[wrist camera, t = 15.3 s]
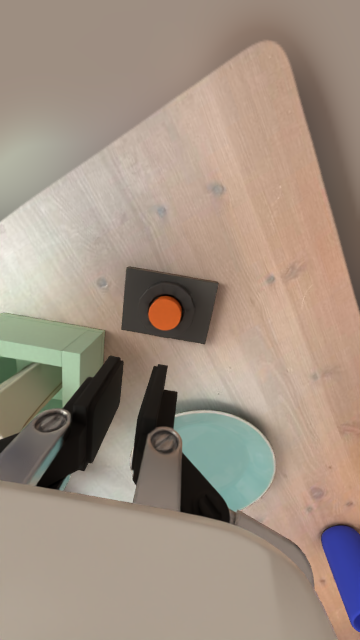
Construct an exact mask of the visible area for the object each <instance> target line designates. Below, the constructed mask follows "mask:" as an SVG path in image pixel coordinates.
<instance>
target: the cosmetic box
mask: <svg viewBox="0 0 360 640" xmlns="http://www.w3.org/2000/svg"><path fill="white" fill-rule="evenodd" d="M61 388H62V367H59V366H54V365H48V364H42V363H36V362H33V363H31V364H29V365H27V366H26V367H24V368H23V369H21V370H20V371H19V372H17V373H16V374H14V375H13V376H11V377H10V378H8V379H7V380H6V381H4V382H3V383H1V384H0V439H3V438H5V437H8V436H11V435H14V434H16V433H19V432H20V431H21V430H22V429H23V428H24V427H25V426H26V425H27V424H28V423H29V422H30V421H31V420H32V419H33V418H34V417H35V416H36V415H37V414H38V412H39V411H40V410H41V409H42V408H43V407H44V406H45V405H46V404H47V403H48V402H49V401H50V400H51V399H52V398H53V397H54V396H55V395H56V394H57V393H58V392H59V390H60V389H61Z"/></svg>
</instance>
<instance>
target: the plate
mask: <svg viewBox="0 0 360 640" xmlns="http://www.w3.org/2000/svg"><path fill="white" fill-rule="evenodd" d="M174 430H175V431H177V432H178V434H179V435H180V437H181V438H182V452H183V453H184V455H185V456H186V457H187V458H188V459H189V460H190V461H191V462H192V464H193V465H194V466H195V467H196V468H197V469H198V470H199V471H200V472H201V474H202V475H203V476H204V477H205V478H206V479H207V480H208V481H209V483H210V484H211V485H212V486H213V487H214V488H215V489H216V490H217V492H218V493H219V494H220V495H221V496H222V497H223V499H224V500H225V502H226V504H227V506H228V508H229V509H231V510H233V511H235V512H237V509H238V510H239V511H240V510H243V509H245V508H247V507H248V506H250V505H252V504H253V503H255V502H256V501H257V500H258V499H260V498H261V497H262V496H263V495H264V494H265V492H266V491H267V490H268V489H269V487H270V485H271V483H272V481H273V479H274V476H275V471H276V459H275V454H274V451H273V448H272V446H271V444H270V443H269V441H268V439H267V438H266V437H265V436H264V434H263V433H262V432H261V431H260V430H259V429H258V428H256V427H255V426H254V425H252V424H251V423H249V422H248V421H246V420H244V419H242V418H240V417H238V416H235V415H233V414H229V413H226V412H221V411H215V410H192V411H186V412H181V413H177V414H175V421H174ZM133 449H134V446H133V448H132V451H131V456H130V469H131V465H132V457H133ZM133 472H134V471H133V470H131V474H132V477H133Z"/></svg>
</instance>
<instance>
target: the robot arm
mask: <svg viewBox="0 0 360 640" xmlns="http://www.w3.org/2000/svg"><path fill="white" fill-rule="evenodd" d="M123 363H124V362H123V361H122V360H121V359H120V357H114V356H109V357H108V359H107V360H106V361H105V363H104V364H103V365H102V367H101V368H100V369H99V371H98V372H97V373H96V375H95V376H94V377H87V378H86V380H85V381H84V382H83V383H82V385H81V386H80V387H79V388H78V390H77V391H76V392H75V393H74V395H73V396H72V397H71V398H70V400H69V401H68V402H67V403H66V405H65V406H64V407H63V408H62V409H61V408H54V409H49V410H46V411H43V412H41V413H40V414H38V415H37V416H36V417H34V418H33V419H32V420H31V422H30V423H29V424H28V425H27V426H26V427H25V428H24V429H23V430H22V431H21V432H19V433H16V434H14V435H11V436H8V437H5V438H3V439H0V640H338V638H337V636H336V633H335V631H334V629H333V626H332V624H331V622H330V620H329V618H328V615H327V613H326V611H325V609H324V607H323V605H322V603H321V601H320V599H319V597H318V595H317V593H316V591H315V589H314V579H313V573H312V569H311V565H310V563H309V562H308V560H307V558H306V556H305V554H304V553H303V552H302V551H301V549H300V548H299V547H298V546H297V545H296V544H294V543H293V542H292V541H291V540H289V539H287V538H285V537H284V536H282V535H280V534H279V533H277V532H275V531H273V530H272V529H270V528H268V527H267V526H265V525H263V524H262V523H260V522H258V521H256V520H255V519H253V518H251V517H250V516H248V515H246V514H244V513H243V512H241V511H239V510H238V509H237V512H235V511H233V510H231V509H229V508H228V506H227V504H226V502H225V500H224V499H223V497H222V496H221V495H220V494H219V493H218V492H217V490H216V489H215V488H214V487H213V486H212V485H211V484H210V483H209V481H208V480H207V479H206V478H205V477H204V476H203V475H202V474H201V472H200V471H199V470H198V469H197V468H196V467H195V466H194V465H193V464H192V462H191V461H190V460H189V459H188V458H187V457H186V456H185V455H184V453H183V452H182V438H181V437H180V435H179V434H178V432H177V431H175V430H174V421H175V411H176V401H177V392H175V391H169V390H164V386H165V380H166V374H167V368H168V366H166V365H160V364H158V366H157V367H156V366H154V367H153V370H152V374H151V377H150V380H149V383H148V386H147V389H146V392H145V395H144V398H143V401H142V405H141V408H140V411H139V415H138V419H137V426H136V434H135V442H134V449H133V457H132V465H131V470H133V471H134V472H133V481H134V483H135V484H136V490H135V495H134V499H133V503H129V502H123V501H117V500H112V499H106V498H101V497H95V496H89V495H83V494H78V493H72V492H66V491H64V489H65V487H66V485H67V484H68V482H69V480H70V477H71V474H72V473H74V472H75V471H77V470H81V471H85V469H86V467H87V465H88V463H92V462H93V461H94V459H95V457H96V454H97V452H98V450H99V448H100V446H101V444H102V441H103V439H104V437H105V435H106V433H107V431H108V428H109V426H110V424H111V422H112V420H113V418H114V415H115V413H116V411H117V409H118V407H119V403H120V396H121V385H122V374H123Z"/></svg>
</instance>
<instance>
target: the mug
mask: <svg viewBox="0 0 360 640" xmlns="http://www.w3.org/2000/svg"><path fill="white" fill-rule="evenodd" d="M321 541H322V546H323V549H324V552H325V555H326V557H327V560H328V563H329V566H330V568H331V571H332V574H333V576H334V579H335V582H336V584H337V587H338V590H339V593H340V595H341V598H342V601H343V603H344V606H345V609H346V611H347V614H348V617H349V620H350V622H351V625H352V626H353V628H354V629H356V630H357V631H358V632H360V534H359V533H358V532H357V531H356V530H354V529H353V528H351V527H348V526H343V525H338V526H333V527H330V528H328V529H327V530H326V531H324V533H323V534H322V538H321Z"/></svg>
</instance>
